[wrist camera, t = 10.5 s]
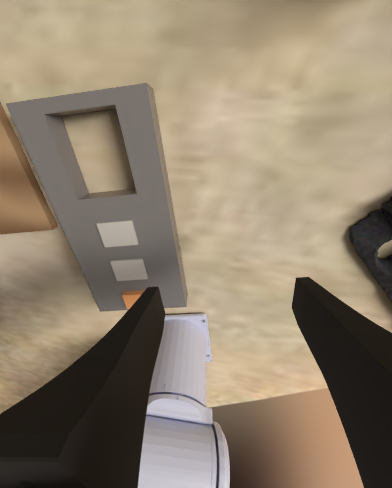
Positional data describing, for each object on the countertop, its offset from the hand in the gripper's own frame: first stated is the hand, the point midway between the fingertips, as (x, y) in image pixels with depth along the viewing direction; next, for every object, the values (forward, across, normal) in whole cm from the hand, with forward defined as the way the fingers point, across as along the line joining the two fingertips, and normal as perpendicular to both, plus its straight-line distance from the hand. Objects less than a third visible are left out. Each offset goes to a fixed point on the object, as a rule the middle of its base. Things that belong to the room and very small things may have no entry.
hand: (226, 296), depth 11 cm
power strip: (+10, +9, -1) cm, 14 cm away
